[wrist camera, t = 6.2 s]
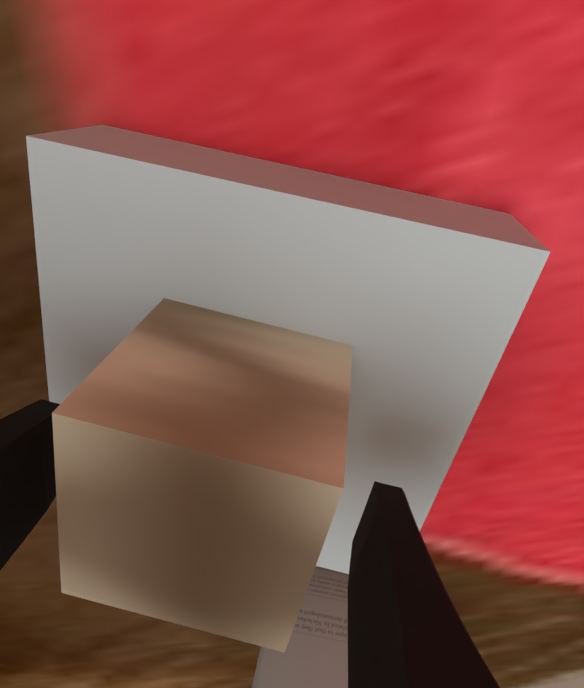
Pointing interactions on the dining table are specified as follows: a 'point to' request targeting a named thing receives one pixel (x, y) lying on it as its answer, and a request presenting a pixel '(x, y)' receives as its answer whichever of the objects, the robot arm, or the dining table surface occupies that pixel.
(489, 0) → the dining table surface
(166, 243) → the grey block
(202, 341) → the birch cube
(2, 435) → the robot arm
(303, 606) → the supplement box
